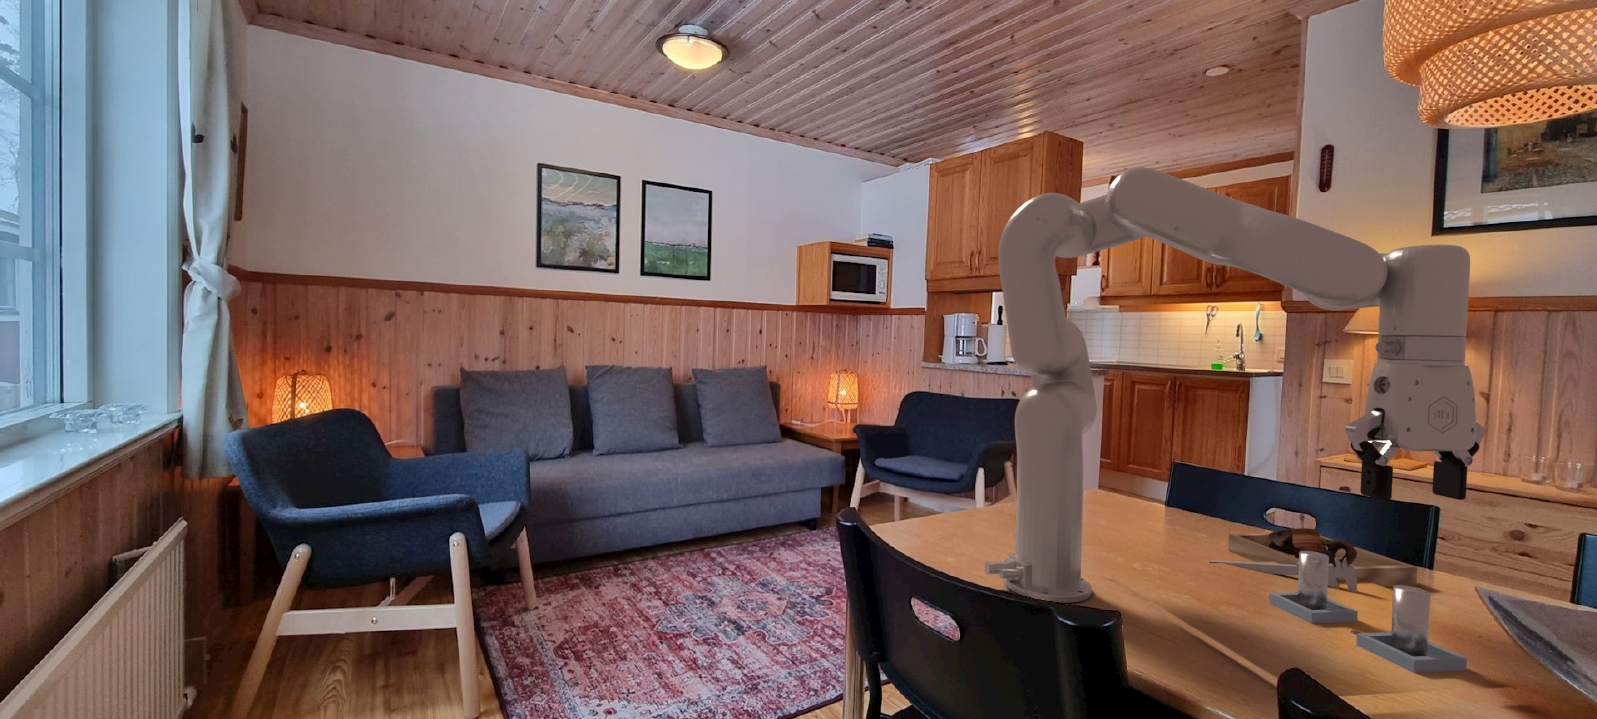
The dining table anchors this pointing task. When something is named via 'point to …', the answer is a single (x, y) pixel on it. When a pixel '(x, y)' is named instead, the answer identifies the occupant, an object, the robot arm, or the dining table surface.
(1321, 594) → the seated pin
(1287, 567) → the caliper
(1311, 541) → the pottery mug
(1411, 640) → the steel pin
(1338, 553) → the brown elongated piece
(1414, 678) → the dining table surface
